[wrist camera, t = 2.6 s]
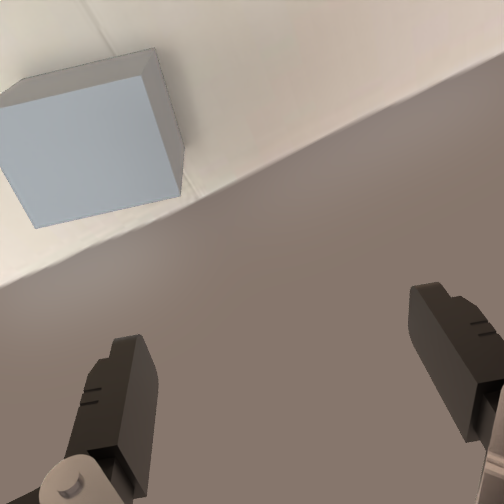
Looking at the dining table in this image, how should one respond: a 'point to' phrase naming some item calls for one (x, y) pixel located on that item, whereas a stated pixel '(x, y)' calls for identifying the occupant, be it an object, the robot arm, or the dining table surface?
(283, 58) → the dining table surface
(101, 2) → the dining table surface
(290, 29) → the dining table surface
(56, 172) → the block
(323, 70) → the dining table surface
